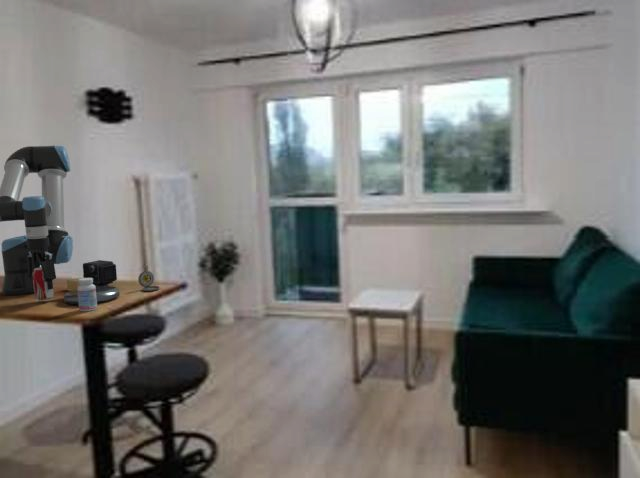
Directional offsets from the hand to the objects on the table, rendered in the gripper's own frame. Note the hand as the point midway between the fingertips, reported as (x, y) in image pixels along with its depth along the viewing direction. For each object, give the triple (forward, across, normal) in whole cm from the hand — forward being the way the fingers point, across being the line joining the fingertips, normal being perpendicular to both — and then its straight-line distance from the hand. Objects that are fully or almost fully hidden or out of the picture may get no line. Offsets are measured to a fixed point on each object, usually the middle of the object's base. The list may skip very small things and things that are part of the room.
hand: (44, 296), depth 215 cm
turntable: (+1, +14, +10) cm, 17 cm away
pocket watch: (+2, +24, +31) cm, 39 cm away
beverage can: (+1, 0, 0) cm, 1 cm away
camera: (+3, -2, +28) cm, 28 cm away
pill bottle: (+2, +28, -2) cm, 28 cm away
